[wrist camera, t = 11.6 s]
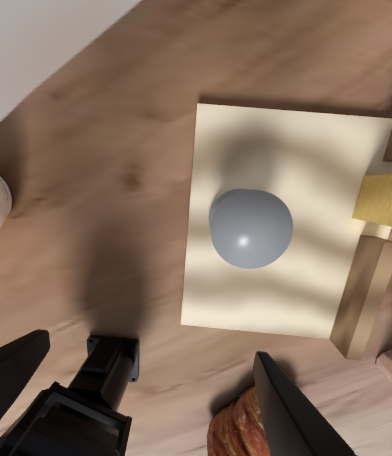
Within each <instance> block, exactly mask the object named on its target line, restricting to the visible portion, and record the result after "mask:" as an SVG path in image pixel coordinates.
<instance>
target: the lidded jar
mask: <svg viewBox="0 0 392 456" xmlns="http://www.w3.org/2000/svg"><path fill="white" fill-rule="evenodd" d="M11 208H12V196H11V192H10V189H9V187H8V185H7V184H6V182H5V181H4V180H3V178H2V177H1V176H0V227H1V226H2V225H3V223H4V221H5V219H6V217H7V216H8V215H9V213H10V211H11Z"/></svg>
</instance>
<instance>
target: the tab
mask: <svg viewBox="0 0 392 456" xmlns="http://www.w3.org/2000/svg"><path fill="white" fill-rule="evenodd" d="M352 218H353V219H358V220H363V221H367V222H372V223H376V224H381V225H386V226H390V227H392V174H388V175H371V176H364V177H363V180H362V184H361V187H360V191H359V194H358V198H357V201H356V204H355V208H354V211H353V215H352Z"/></svg>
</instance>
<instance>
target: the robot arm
mask: <svg viewBox="0 0 392 456" xmlns="http://www.w3.org/2000/svg"><path fill="white" fill-rule="evenodd" d="M49 349H50V339H49V332H48V331H47V330H40V329H39V330H35V331H33V332H31V333H29V334H27V335H25V336H23V337H21V338H18V339H16V340H14V341H12V342H10V343H8V344H6V345H4V346H2V347H0V420H1V418H2V417H3V416H4V414H5V413H6V412H7V411H8V409H9V408H10V407H11V405H12V404H13V403H14V401H15V400H16V399H17V397H18V396H19V395H20V393H21V392H22V390H23V389H24V387H25V386H26V385H27V383H28V382H29V380H30V379H31V377H32V376H33V374H34V372H35V371H36V369H37V368H38V366H39V365H40V363H41V362H42V360H43V359H44V357H45V356H46V354H47V353H48V351H49ZM87 351H88V357H87V359H86V360H85V362H84V363H83V365H82V366H81V368H80V370H79V371H78V373H77V374H76V376H75V377H74V379H73V380H72V382H71V383H70V385H69V386H68V388H66V387H63V386H61V385H59V384H60V383H58V382H56V381H55V382H54V383H53V384H52V385H51V387H50V388H49V389H46V390H42V391H41V392H40V393H39V394H38V396H37V397H36V398H35V399H34V401H33V402H32V403H31V405H30V406H29V407H28V408H27V409H26V411H25V412H24V413H23V414H22V415H21V416H20V417H19V418H18V419H17V420H16V421H15V422H14V423H13V424H12V425H11V426H10V427H9V429H8V430H7V431H6V432H5V433H4V434H3V435H2V436H1V437H0V456H125V451H126V446H127V441H128V436H129V432H130V427H131V422H132V418H131V417H129V416H127V417H126V416H124V415H122V414H120V413H118V412H117V410H118V407H119V405H120V402H121V399H122V397H123V394H124V392H125V389H126V386H127V384H128V382H136V381H137V380H138V369H139V342H138V340H135V339H126V338H116V337H106V336H96V335H91V336H89V338H88V339H87ZM253 373H254V379H255V385H256V391H257V397H258V403H259V409H260V414H261V420H262V424H263V428H264V432H265V436H266V440H267V444H268V448H269V452H270V455H271V456H357V455H355V453H354V451H353V450H352V449H351V448H350V447H349V445H348V444H347V443H346V442H345V441H344V440H343V439H342V437H341V436H340V435H339V434H338V433H337V432H336V431H335V429H334V428H333V427H332V426H331V425H330V424H329V423H328V421H327V420H326V419H325V418H324V417H323V416H322V415H321V413H320V412H319V411H318V410H317V409H316V408H315V407H314V405H313V404H312V403H311V402H310V401H309V400H308V399H307V397H306V396H305V395H304V394H303V393H302V392H301V391H300V389H299V388H298V387H297V386H296V385H295V384H294V383H293V382H292V380H291V379H290V378H289V377H288V376H287V375H286V374H285V372H284V371H283V370H282V369H281V368H280V367H279V366H278V364H277V363H276V362H275V361H274V360H273V359H272V358H271V356H270V355H269V354H268V353H267V352H264V351H257V352H256V354H255V359H254V365H253Z"/></svg>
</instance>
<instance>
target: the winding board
mask: <svg viewBox="0 0 392 456" xmlns="http://www.w3.org/2000/svg"><path fill="white" fill-rule="evenodd" d="M388 174H392V119H391V118H378V117H365V116H352V115H340V114H327V113H314V112H301V111H288V110H276V109H263V108H250V107H237V106H225V105H212V104H199V103H197V116H196V129H195V142H194V156H193V169H192V182H191V196H190V209H189V222H188V236H187V249H186V262H185V276H184V289H183V302H182V316H181V325H191V326H201V327H212V328H222V329H232V330H243V331H253V332H263V333H273V334H284V335H294V336H304V337H315V338H325V339H330V340H331V342H332V343H333V344H334V345H335V346H336V348H337V349H338V350H339V351H340V352H341V354H342V355H343V356H344V357H345V359H352V360H361V358H362V355H363V352H364V349H365V347H366V344H367V341H368V338H369V335H370V333H371V330H372V327H373V324H374V321H375V319H376V316H377V313H378V310H379V307H380V305H381V302H382V299H383V296H384V293H385V291H386V288H387V285H388V282H389V279H390V276H391V274H392V241H390V240H387V239H388V236H389V233H390V230H391V227H390V226H386V225H381V224H376V223H372V222H367V221H363V220H358V219H353V218H352V215H353V211H354V208H355V204H356V201H357V198H358V194H359V191H360V187H361V184H362V180H363V177H364V176H371V175H388ZM234 189H248V190H261V191H266V192H269V193H271V194H274V195H275V196H277V197H278V198H280V199H281V200H282V201H283V202H284V203H285V204H286V206H287V207H288V209H289V211H290V213H291V216H292V219H293V235H292V238H291V241H290V244H289V246H288V247H287V249H286V251H285V252H284V253H283V254H282V255H281V256H280V257H279V258H278V259H277V260H276V261H274V262H272V263H271V264H269V265H267V266H264V267H261V268H256V269H244V268H239V267H236V266H233V265H231V264H229V263H228V262H226V261H225V260H224V259H223V258H222V257H221V256H220V255H219V254H218V253H217V251H216V249H215V248H214V245H213V243H212V238H211V231H210V227H209V213H210V209H211V207H212V205H213V203H214V202H215V201H216V199H217V198H218V197H220V196H221V195H222V194H224V193H225V192H227V191H230V190H234Z"/></svg>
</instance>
